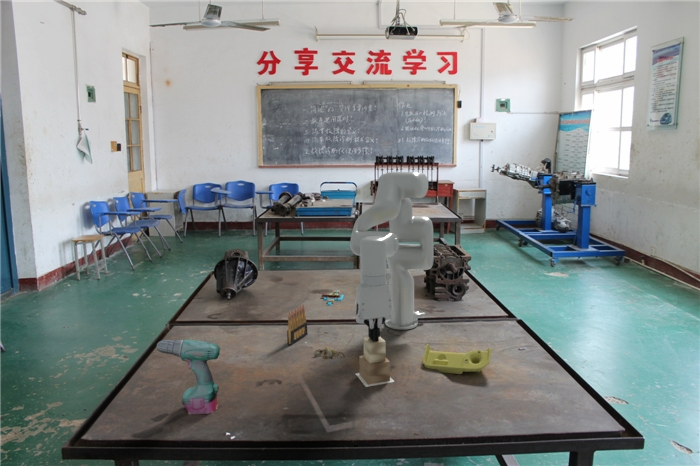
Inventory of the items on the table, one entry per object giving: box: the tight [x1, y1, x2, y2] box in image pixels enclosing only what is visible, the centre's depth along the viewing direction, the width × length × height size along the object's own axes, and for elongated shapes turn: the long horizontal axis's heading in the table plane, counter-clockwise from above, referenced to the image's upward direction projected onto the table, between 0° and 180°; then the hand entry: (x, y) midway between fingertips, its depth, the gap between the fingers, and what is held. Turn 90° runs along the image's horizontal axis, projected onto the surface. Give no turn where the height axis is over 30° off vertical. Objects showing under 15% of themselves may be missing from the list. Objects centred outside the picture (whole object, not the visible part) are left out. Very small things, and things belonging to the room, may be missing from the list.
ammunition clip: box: [286, 303, 308, 346], centre depth 188 cm, size 11×2×12 cm, turn 153°
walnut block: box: [358, 354, 391, 385], centre depth 156 cm, size 7×7×6 cm
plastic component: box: [422, 343, 492, 375], centre depth 164 cm, size 20×8×10 cm
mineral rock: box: [313, 346, 346, 360], centre depth 173 cm, size 11×4×8 cm
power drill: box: [156, 339, 221, 415], centre depth 141 cm, size 7×16×20 cm, turn 95°
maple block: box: [363, 336, 387, 363], centre depth 155 cm, size 5×5×6 cm
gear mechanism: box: [321, 287, 345, 306], centre depth 235 cm, size 20×5×9 cm
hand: (374, 339), depth 154 cm, fingers closed
